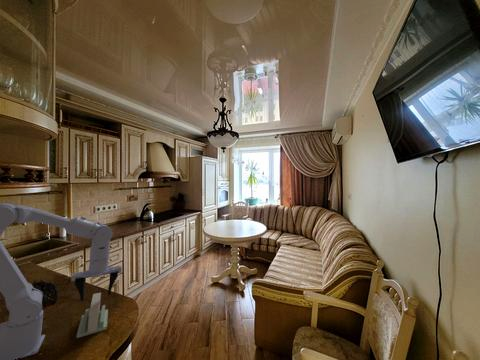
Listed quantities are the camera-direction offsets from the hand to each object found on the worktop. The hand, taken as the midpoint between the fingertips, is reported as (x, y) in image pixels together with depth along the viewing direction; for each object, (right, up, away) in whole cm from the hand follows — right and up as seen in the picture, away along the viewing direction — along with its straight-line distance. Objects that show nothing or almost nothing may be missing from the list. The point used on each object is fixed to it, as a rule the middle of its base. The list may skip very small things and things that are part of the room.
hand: (96, 296), depth 68 cm
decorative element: (-35, -10, +15) cm, 39 cm away
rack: (0, -9, -1) cm, 9 cm away
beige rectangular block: (0, -8, -1) cm, 8 cm away
